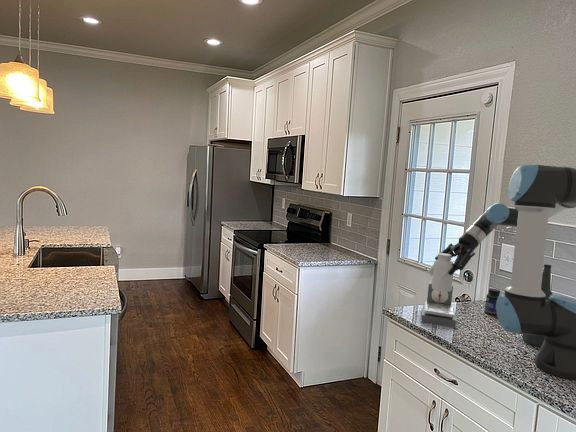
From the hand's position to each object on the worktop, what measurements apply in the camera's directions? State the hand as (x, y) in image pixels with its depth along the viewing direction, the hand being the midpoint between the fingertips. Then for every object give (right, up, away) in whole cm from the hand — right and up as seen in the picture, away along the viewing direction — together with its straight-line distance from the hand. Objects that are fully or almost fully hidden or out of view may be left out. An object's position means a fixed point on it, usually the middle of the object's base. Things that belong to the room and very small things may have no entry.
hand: (435, 276), depth 181 cm
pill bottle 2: (+32, -20, +18) cm, 41 cm away
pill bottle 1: (+3, -6, +2) cm, 7 cm away
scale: (+2, -18, +5) cm, 19 cm away
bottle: (+33, -23, -17) cm, 43 cm away
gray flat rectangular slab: (+2, -15, +3) cm, 15 cm away
